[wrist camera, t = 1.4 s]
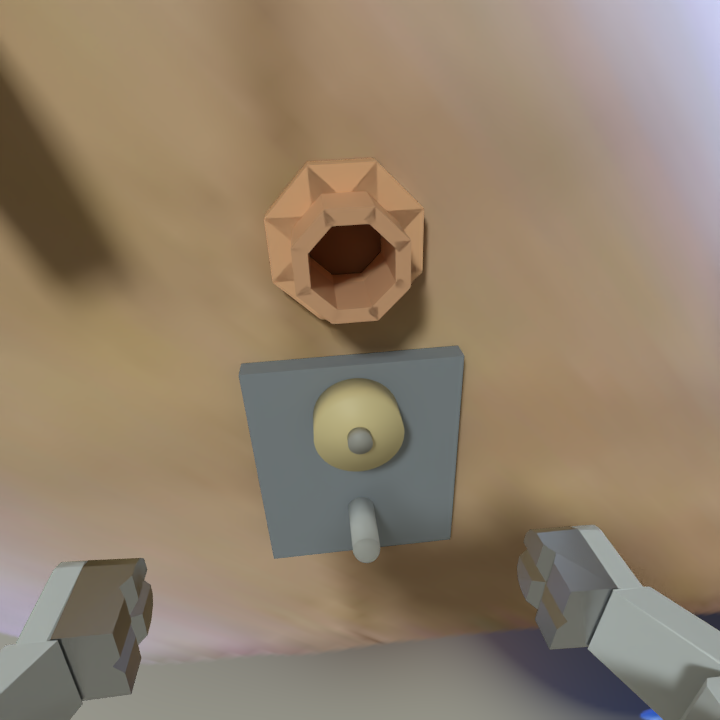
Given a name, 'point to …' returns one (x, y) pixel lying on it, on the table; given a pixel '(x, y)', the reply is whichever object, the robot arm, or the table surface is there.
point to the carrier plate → (331, 488)
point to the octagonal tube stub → (338, 208)
